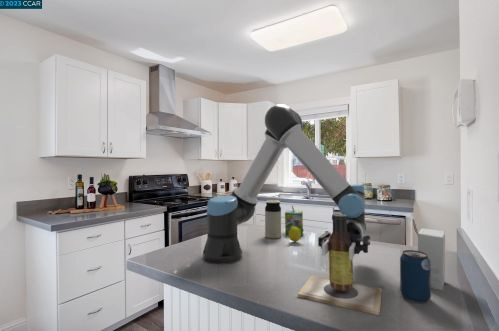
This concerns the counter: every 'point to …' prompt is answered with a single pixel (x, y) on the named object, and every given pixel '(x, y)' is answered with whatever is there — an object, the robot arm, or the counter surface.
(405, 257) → the soda can
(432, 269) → the skincare box
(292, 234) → the lemon
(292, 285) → the counter surface
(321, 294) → the wooden picture frame
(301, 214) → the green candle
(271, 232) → the travel mug
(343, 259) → the sauce bottle
